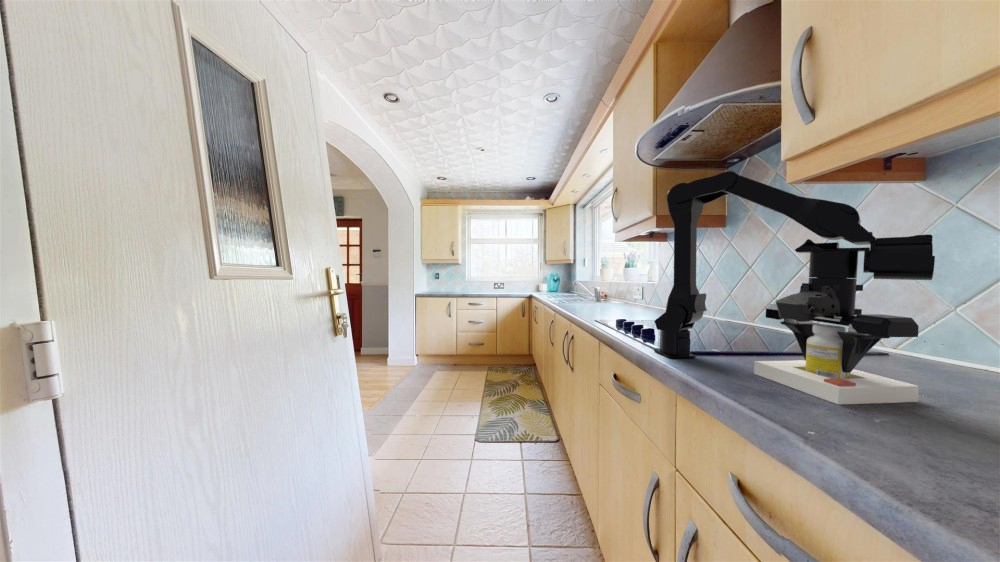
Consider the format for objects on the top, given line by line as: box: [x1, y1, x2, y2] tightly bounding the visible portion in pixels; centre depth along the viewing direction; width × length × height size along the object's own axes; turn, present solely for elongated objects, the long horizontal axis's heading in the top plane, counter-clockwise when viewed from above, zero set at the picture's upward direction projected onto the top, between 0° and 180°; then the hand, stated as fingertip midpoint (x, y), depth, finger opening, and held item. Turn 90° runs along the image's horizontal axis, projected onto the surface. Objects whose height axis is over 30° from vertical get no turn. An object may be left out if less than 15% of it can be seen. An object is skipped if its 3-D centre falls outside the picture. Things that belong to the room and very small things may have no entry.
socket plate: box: [753, 359, 920, 406], centre depth 55 cm, size 14×14×3 cm
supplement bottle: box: [806, 323, 850, 379], centre depth 55 cm, size 5×5×10 cm
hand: (826, 366), depth 55 cm, fingers closed on supplement bottle, 5 cm apart
